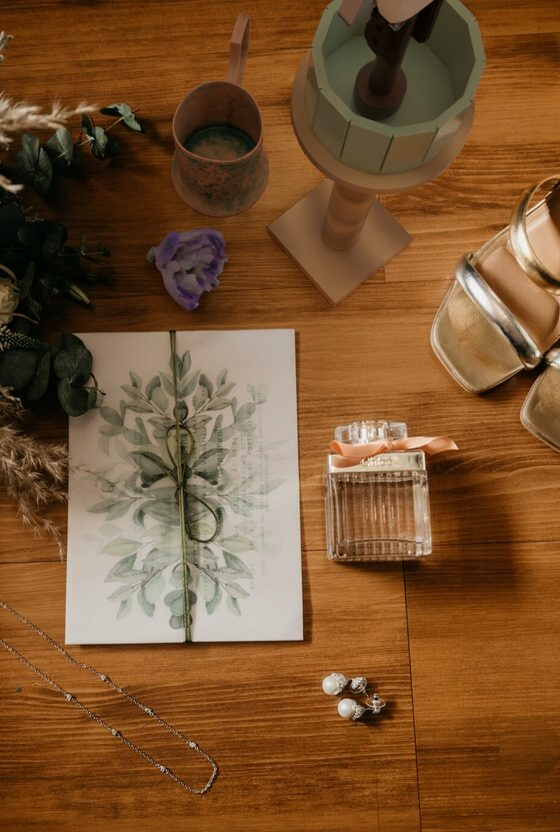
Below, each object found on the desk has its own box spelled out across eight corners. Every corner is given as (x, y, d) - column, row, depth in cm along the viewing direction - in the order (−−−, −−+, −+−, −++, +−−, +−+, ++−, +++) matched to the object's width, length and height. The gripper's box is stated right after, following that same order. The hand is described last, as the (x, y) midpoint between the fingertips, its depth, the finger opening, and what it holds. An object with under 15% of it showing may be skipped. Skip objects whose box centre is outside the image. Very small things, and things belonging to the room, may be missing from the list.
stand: (345, 152, 85) (391, -20, 59) (428, 245, 84) (513, 111, 58) (248, 230, 84) (253, 90, 58) (332, 325, 83) (374, 225, 57)
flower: (108, 265, 77) (188, 258, 73) (137, 213, 81) (215, 204, 77) (145, 327, 84) (221, 324, 80) (170, 277, 88) (243, 271, 84)
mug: (291, 90, 86) (299, 16, 74) (255, 227, 84) (258, 174, 72) (198, 68, 86) (191, -10, 74) (160, 204, 85) (147, 147, 73)
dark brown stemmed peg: (380, 62, 57) (417, -67, 45) (413, 98, 57) (459, -22, 45) (342, 92, 57) (369, -29, 45) (375, 129, 57) (411, 17, 45)
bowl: (390, -1, 59) (406, -58, 54) (492, 109, 58) (519, 63, 53) (274, 92, 58) (277, 44, 53) (375, 205, 58) (390, 169, 52)
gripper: (407, -87, 31) (345, 147, 50) (672, -296, 32) (515, 9, 51) (295, -207, 32) (274, 68, 50) (560, -409, 33) (445, -66, 51)
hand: (396, 37), depth 50 cm, fingers closed on dark brown stemmed peg, 2 cm apart
